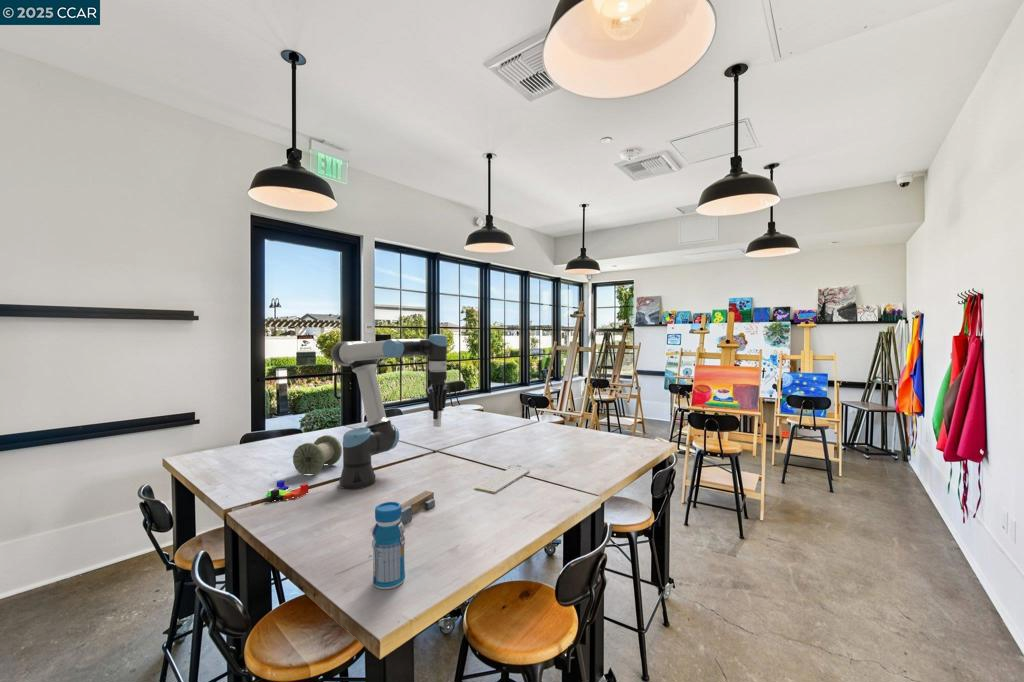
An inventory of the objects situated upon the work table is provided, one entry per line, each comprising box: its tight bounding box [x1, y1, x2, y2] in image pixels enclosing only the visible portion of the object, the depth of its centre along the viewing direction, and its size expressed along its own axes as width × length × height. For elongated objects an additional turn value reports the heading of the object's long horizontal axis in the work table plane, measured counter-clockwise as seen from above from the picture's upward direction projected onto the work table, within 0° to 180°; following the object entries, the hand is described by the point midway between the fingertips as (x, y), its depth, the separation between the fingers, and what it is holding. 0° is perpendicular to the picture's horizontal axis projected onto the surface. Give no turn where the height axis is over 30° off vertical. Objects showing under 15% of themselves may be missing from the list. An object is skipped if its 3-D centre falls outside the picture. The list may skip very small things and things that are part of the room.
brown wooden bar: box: [400, 490, 435, 516], centre depth 158 cm, size 4×18×4 cm, turn 155°
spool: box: [292, 434, 343, 475], centre depth 206 cm, size 16×15×15 cm
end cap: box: [400, 506, 413, 525], centre depth 148 cm, size 8×8×4 cm
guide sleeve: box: [424, 499, 436, 511], centre depth 161 cm, size 8×4×2 cm, turn 63°
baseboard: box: [473, 464, 530, 494], centre depth 190 cm, size 31×3×12 cm
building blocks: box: [265, 479, 309, 503], centre depth 172 cm, size 15×13×4 cm
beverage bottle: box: [371, 501, 406, 590], centre depth 112 cm, size 8×8×20 cm
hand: (437, 426), depth 180 cm, fingers closed
